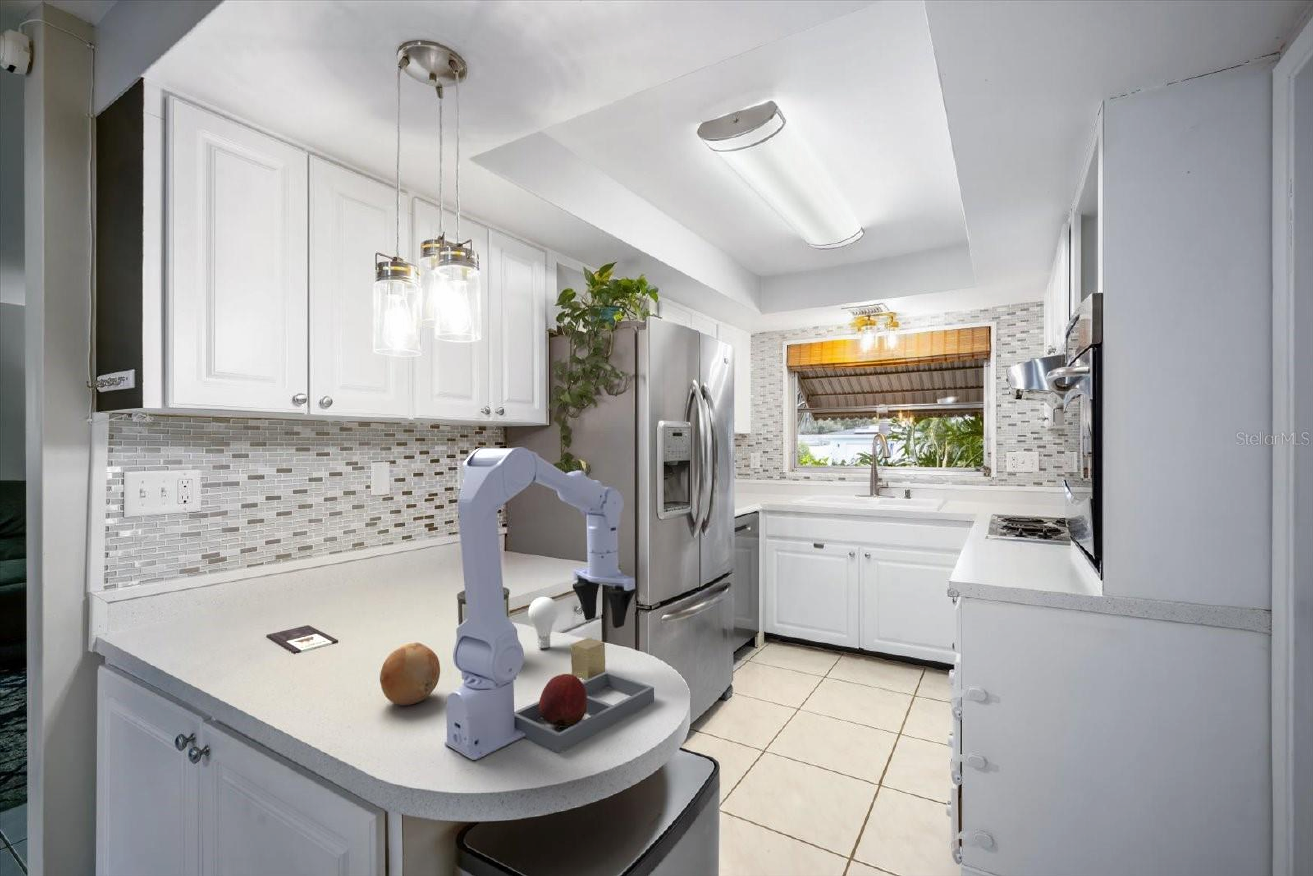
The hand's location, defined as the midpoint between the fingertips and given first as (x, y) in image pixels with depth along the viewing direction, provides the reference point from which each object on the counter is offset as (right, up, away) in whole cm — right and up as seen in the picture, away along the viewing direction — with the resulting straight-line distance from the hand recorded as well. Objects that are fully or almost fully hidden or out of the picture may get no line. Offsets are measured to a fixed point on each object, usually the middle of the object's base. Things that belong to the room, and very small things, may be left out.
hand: (604, 622), depth 114 cm
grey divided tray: (-2, -10, -15) cm, 19 cm away
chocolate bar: (-72, -12, +26) cm, 77 cm away
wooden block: (-3, -10, +1) cm, 11 cm away
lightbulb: (-14, -11, +16) cm, 24 cm away
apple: (-5, -11, -19) cm, 22 cm away
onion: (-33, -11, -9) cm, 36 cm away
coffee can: (-25, -11, +10) cm, 29 cm away
